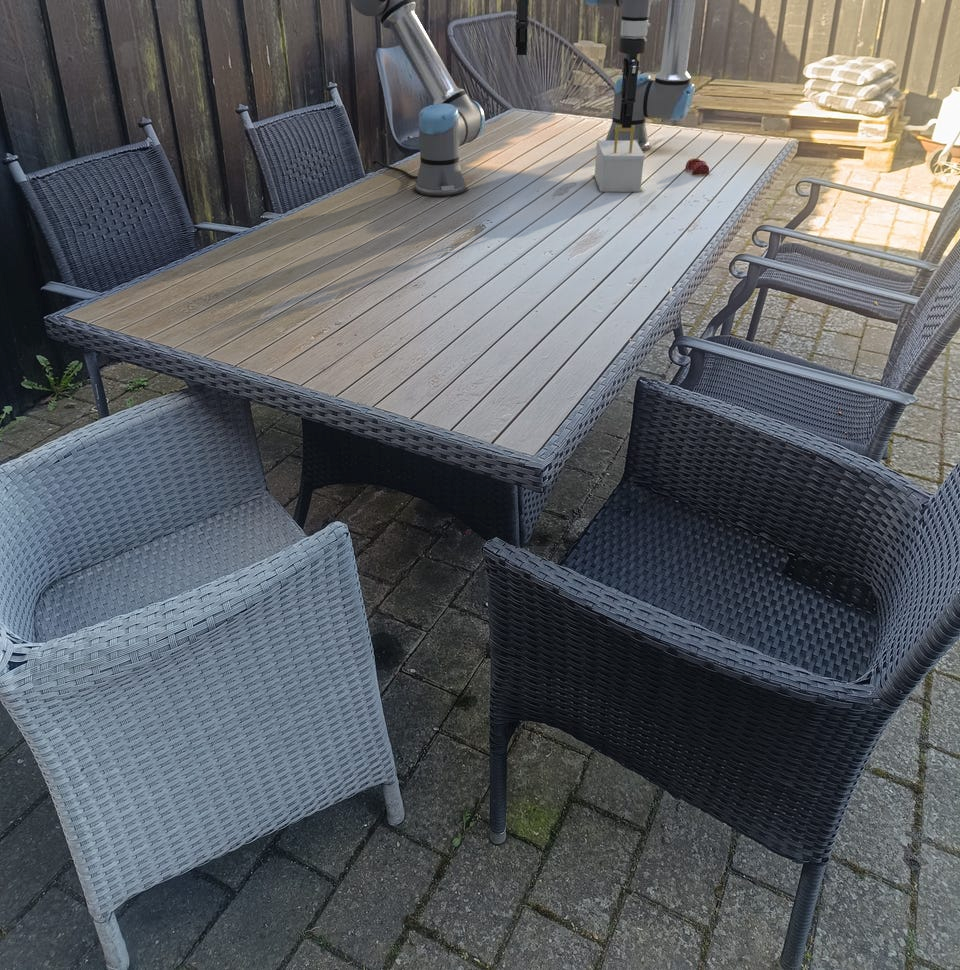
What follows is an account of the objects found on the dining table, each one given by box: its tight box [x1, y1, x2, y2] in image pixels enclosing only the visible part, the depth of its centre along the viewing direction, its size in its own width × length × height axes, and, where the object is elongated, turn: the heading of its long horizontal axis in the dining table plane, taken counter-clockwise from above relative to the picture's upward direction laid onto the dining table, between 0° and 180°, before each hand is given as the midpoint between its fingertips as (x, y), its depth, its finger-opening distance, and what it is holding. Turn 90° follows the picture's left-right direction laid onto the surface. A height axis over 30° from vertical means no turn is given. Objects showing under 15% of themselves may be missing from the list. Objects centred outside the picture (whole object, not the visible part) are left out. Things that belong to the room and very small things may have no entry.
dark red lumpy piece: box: [684, 157, 710, 176], centre depth 272 cm, size 6×4×8 cm
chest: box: [594, 144, 645, 193], centre depth 261 cm, size 17×12×10 cm
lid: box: [596, 125, 646, 160], centre depth 255 cm, size 18×12×9 cm
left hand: (520, 51), depth 239 cm, fingers open, 13 cm apart
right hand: (625, 125), depth 249 cm, fingers open, 4 cm apart
